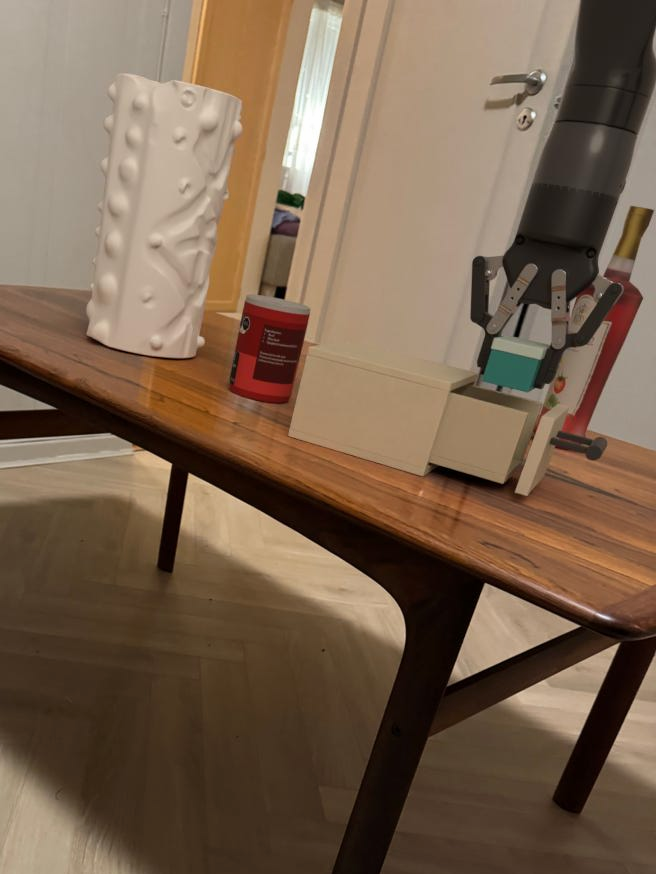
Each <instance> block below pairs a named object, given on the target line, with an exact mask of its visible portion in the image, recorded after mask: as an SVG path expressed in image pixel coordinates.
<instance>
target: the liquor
mask: <svg viewBox="0 0 656 874" xmlns="http://www.w3.org/2000/svg"><path fill="white" fill-rule="evenodd" d="M654 213H655V209H652V208H647V207H642V206H637V205H630V206H629V208H628V211H627V214H626V217H625V220H624V222H623V228H622V233H621V236H620V238H619V240H618V243H617V245H616V247H615V249H614V251H613V253H612V255H611V257H610V260H609V262H608V264H607V266H606V269H605V271H604V273H603V275H602V276H603V277H605V278H607V279H609V280H611V281H613V282H614V283H620V284H622V285H623V287H624V291H623V293H622V295H621V296H620V298H619V299H618V301H617V302H616V304H615V305H614V306H613V308H612V309H611V311H610V312H609V314H608V315H607V317H606V318H605V320H604V321H603V322H602V324H601V325H600V327H599V328H598V330H597V331H596V333H595V334H594V336H593V337H592V338H591V340H590V341H589V343H588V344H586V345H584V346H582V347H570V348H567V349H566V350H565V351H564V353H563V355H562V358H561V361H560V364H559V367H558V370H557V372H556V375H555V378H554V380H553V381H552V382H551V383H550V384H548V389H547V392H546V395H545V398H544V401H543V405H542V408H541V411H540V413H539V416H538V419H537V422H536V425H535V427H534V430H533V433H534V435H535V434H536V431H537V428H538V425H539V422H540V420H541V417H542V416H543V415H544V414H546V413H547V412H548V411H549V410H551V409H552V408H553V407H555V406H556V405H557V404H562V405H566V406H569V407H570V408H569V411H568V413H567V416H566V419H565V422H564V424H563V427H562V430H561V431H563V432H567V433H570V434H574V435H578V436H582V437H585V438H587V437H586V432H587V429H588V428H589V425H590V423H591V419H592V417H593V416H594V413H595V411H596V407H597V406H598V403H599V400H600V398H601V397H602V394H603V391H604V389H605V387H606V384H607V382H608V379H609V377H610V375H611V372H612V370H613V368H614V366H615V364H616V362H617V360H618V357H619V355H620V353H621V350H622V348H623V346H624V344H625V342H626V339H627V338H628V335H629V333H630V331H631V329H632V328H631V327H632V325H633V324H634V321H635V319H636V317H637V314H638V311H639V309H640V307H641V304H642V302H643V300H644V296H643V295H642V293H641V292H640V290H639V288H638V287H636V286H635V285H634V284H633V283H632V282H630V281H631V277H632V274H633V270H634V267H635V264H636V263H635V262H636V259H637V256H638V252H639V248H640V244H641V242H642V238H643V237H644V235H645V233H646V231H647V229H648V227H649V226H650V223H651V221H652V218H653V216H654ZM594 292H595V287H594V285H593V284H591V285H590V286H589V287H588V288H587V289H585V290H584V291H583V292H582V293H580V294H579V295H578V296H577V297H575V301H574V303H573V307H572V310H571V312H570V320H569V334H571V333H578V331H579V330H580V328H581V327H582V325H583V324H584V322H585V321H586V319H587V318H588V316H589V315H590V313H591V312H592V310H593V309H594V307H595V306H596V304H597V303H596V302H595V301H594V300H593V294H594ZM558 439H561V440H565V439H562V438H558ZM565 441H568V442H572V443H576V444H579V445H582V444H580V443H577V442H573V441H569V440H565ZM555 449H560V450H568V451H570V450H569V449H566V448H562V447H558V446H555Z"/></svg>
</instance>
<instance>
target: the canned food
mask: <svg viewBox="0 0 656 874" xmlns="http://www.w3.org/2000/svg"><path fill="white" fill-rule="evenodd" d="M311 309H312V308H311V307H309V306H308V305H305V304H303V303H299V302H296V301H291V300H288V299H283V298H278V297H274V296H269V295H268V296H267V295H262V294H261V295H260V294H247V295H246V296H245V300H244V304H243V308H242V312H241V318H240V323H239V327H238V328H239V329H238V334H237V338H236V344H235V348H234V354H233V359H232V364H231V369H230V375H229V380H228V383H229V384H228V386H229V390H230V391H231V392H232V393H234V394H236V395H238V396H239V397H240V396H241V397H244V398H246V399H250V400H255V401H259V402H264V403H270V404H271V403H272V404H284V403H287V402H289V399H290V398H291V396H292V393H293V389H294V384H295V381H296V377H297V371H298V368H299V363H300V359H301V354H302V350H303V346H304V342H305V338H306V333H307V330H308V325H309V320H310V315H311Z"/></svg>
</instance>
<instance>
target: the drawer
mask: <svg viewBox="0 0 656 874" xmlns="http://www.w3.org/2000/svg"><path fill="white" fill-rule="evenodd" d="M543 404H544V402H541V401H537V400H533V399H530V398H526V397H522V396H518V395H514V394H510V393H507V392H503V391H498V390H495V389H490V388H487V387H482V386H479V385H476V384H475V385H471V384H466V385H464V386H461V387H459V388H456V389H454V390H451V392H450V396H449V399H448V402H447V405H446V409H445V412H444V415H443V418H442V421H441V425H440V428H439V431H438V434H437V438H436V441H435V444H434V447H433V451H432V454H431V457H430V460H429V463H433V464H436V465H439V467H443V468H447V469H449V470H450V469H451V470H453V471H457V472H460V473H463V474H468V475H470V476H474V477H478V478H481V479H484V480H488V481H491V482H494V483H498V484H502V485H503V484H505V483H506V482H507V481H508V480H509V479H510V478H511V477H512V476H514V474H515V473H516V472H517V471H518V470H519V469H520V468H521V467H522V464H523V460H524V458H525V455H526V452H527V451H528V453H527V456H526V459H525V462H524V464H523V467H522V470H521V473H520V476H519V479H518V481H517V484H516V487H515V489H514V493H515V494H518V495H522V496H525V497H528V496H529V494H530V493H531V492H532V491H533V490H534V489H535V488H536V486H537V485H538V484H539V483H540V482H541V480H542V479H543V478H545V475H546V473H547V470H548V467H549V464H550V462H551V459H552V457H553V454H554V451H555V449H556V447H555V446H558V447H562V448H566V449H565V450H568V449H569V450H568V451H573V452H576V453H581V454H585V457H586V459H587V460H589V461H592V462H595V461H598V460H599V459H600V458H601V457H602V455H603V454H604V452H605V450H606V449H607V447H608V440H607V439H606V438H605V437H603V436H597V437H595V438H594V439H592V438H590V437H589V438H588V437H586V436H585V437H586V438H585V437H582V436H578V435H574V434H570V433H567V432H563V431H561V430H562V427H563V424H564V422H565V419H566V416H567V413H568V411H569V408H570V407H569V406H566V405H562V404H557V405H556V406H555V407H553V408H552V409H551V410H549V411H548V412H547V413H546V414H544V415H543V416H542V417H541V420H540V422H539V425H538V428H537V431H536V434H534V437H533V440H532V442H531V438H532V436H533V433H534V432H533V430H534V427H535V425H536V423H537V422H538V419H539V416H540V413H541V410H542V407H543ZM558 438H562V439H565V440H569V441H573V442H577V443H580V444H581V445H579V444H576V443H572V442H568V441H565V440H561V439H558ZM530 442H531V445H530V447H529V444H530ZM528 447H529V450H527V449H528Z"/></svg>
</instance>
